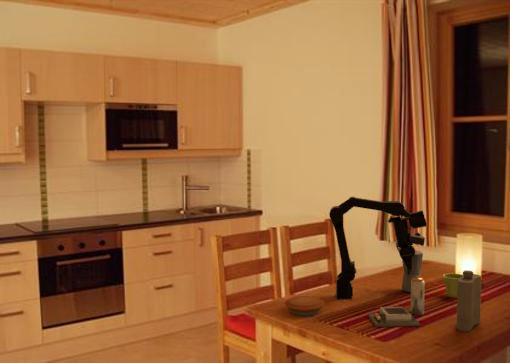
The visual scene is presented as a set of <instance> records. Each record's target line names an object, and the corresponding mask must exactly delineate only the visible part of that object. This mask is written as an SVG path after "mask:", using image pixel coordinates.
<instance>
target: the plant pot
mask: <svg viewBox="0 0 510 363" xmlns="http://www.w3.org/2000/svg"><path fill="white" fill-rule="evenodd" d="M462 276H463V274H460V273H444V274H443V275H442V277H443V280H444V285H445V292H446V296H448V297H450V298H457V281H458V279H459V278H460V277H462Z"/></svg>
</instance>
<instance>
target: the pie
mask: <svg viewBox="0 0 510 363" xmlns="http://www.w3.org/2000/svg"><path fill="white" fill-rule="evenodd" d="M284 305H285V306H286V308H287V309H288V311H289V312H290V313H291V314H292V315H295V316H299V317H311V316H315V315H317V314H319V313H320V311H321V309H322V307H323V306H324V305H325V303H324V301H323V300H321V299H319V298H317V297H314V296H311V295H310V296H309V295H299V296H292V297H290V298H289V299H287V300H285V301H284Z"/></svg>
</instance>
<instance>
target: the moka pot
mask: <svg viewBox="0 0 510 363" xmlns="http://www.w3.org/2000/svg"><path fill="white" fill-rule="evenodd" d="M412 246H413V247H414V245H412ZM414 248H415V247H414ZM423 256H424V253H423V251H421V250H418V249H415V255H414V256H413V257H412V269H411V270H409V269H408V268H407V266H406V264H405V263H404V261H403V260H402V259H401V261H402V262H401V263H402V268H403V277H402V283H401V290H402V291H404V292H407V293H411V279H413V277H421V269H422V264H423ZM421 278H422V277H421Z"/></svg>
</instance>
